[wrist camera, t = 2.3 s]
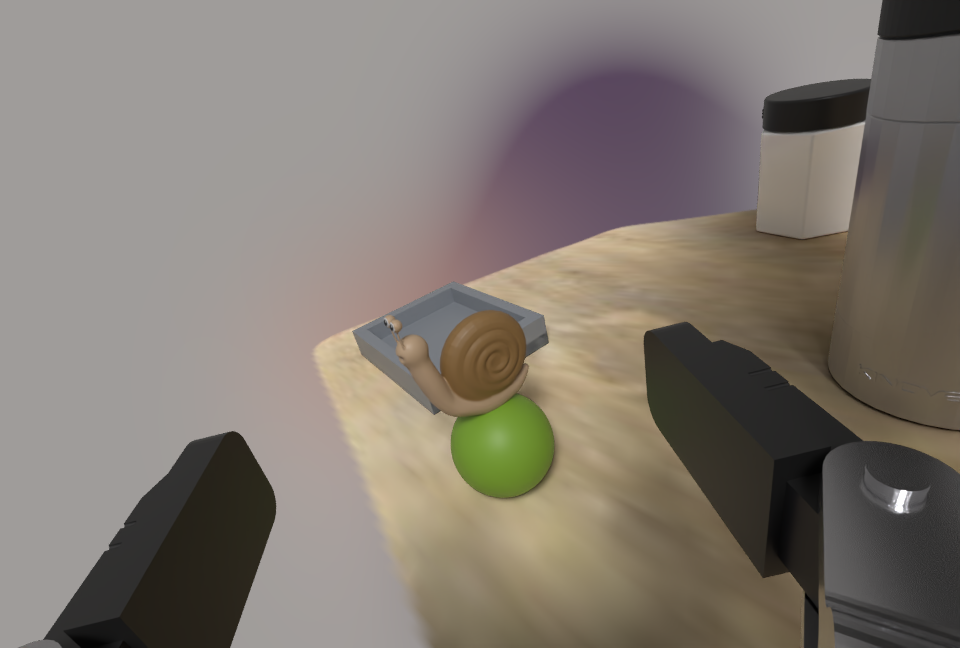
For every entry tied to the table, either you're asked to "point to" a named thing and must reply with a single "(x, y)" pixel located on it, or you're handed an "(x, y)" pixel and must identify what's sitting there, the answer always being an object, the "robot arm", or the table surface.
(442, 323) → the tray
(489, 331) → the snail figurine
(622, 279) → the table surface
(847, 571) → the robot arm
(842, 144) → the jar
